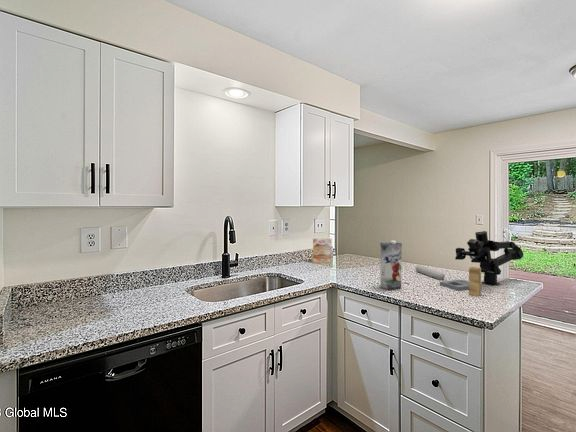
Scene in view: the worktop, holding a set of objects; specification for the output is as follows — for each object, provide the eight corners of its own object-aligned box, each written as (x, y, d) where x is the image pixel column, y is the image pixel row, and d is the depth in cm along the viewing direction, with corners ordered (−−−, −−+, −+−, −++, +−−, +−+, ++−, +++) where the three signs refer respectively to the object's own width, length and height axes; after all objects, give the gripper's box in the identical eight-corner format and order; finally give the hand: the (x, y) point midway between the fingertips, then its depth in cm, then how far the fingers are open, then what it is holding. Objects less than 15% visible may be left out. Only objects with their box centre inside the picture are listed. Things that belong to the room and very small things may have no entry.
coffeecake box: (313, 262, 252) (312, 239, 251) (313, 261, 259) (313, 238, 258) (331, 263, 249) (331, 239, 249) (331, 261, 256) (331, 238, 256)
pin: (471, 292, 162) (471, 266, 162) (480, 294, 159) (481, 267, 159) (468, 294, 159) (469, 267, 159) (478, 296, 156) (478, 269, 156)
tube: (447, 274, 190) (423, 266, 215) (440, 271, 190) (416, 263, 214) (445, 282, 190) (420, 273, 215) (437, 280, 189) (414, 271, 214)
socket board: (461, 282, 183) (461, 279, 183) (480, 288, 171) (480, 284, 171) (439, 285, 179) (439, 281, 179) (458, 290, 166) (458, 287, 166)
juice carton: (378, 287, 175) (378, 240, 174) (392, 285, 179) (392, 239, 179) (388, 291, 167) (389, 241, 166) (403, 288, 171) (404, 240, 170)
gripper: (462, 236, 183) (445, 244, 177) (495, 239, 167) (478, 248, 160) (465, 253, 185) (448, 262, 178) (498, 258, 168) (481, 268, 162)
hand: (463, 259), depth 170 cm, fingers open, 9 cm apart
